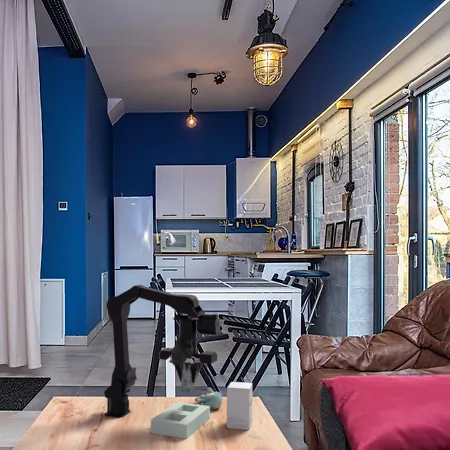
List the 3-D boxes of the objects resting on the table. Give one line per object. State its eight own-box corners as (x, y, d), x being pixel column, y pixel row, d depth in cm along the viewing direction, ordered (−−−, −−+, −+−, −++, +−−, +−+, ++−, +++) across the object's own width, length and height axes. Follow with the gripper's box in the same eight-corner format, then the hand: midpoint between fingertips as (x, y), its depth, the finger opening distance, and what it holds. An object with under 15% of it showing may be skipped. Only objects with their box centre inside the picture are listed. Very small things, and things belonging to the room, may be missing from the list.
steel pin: (179, 391, 156) (179, 363, 156) (184, 387, 159) (184, 360, 160) (190, 392, 154) (190, 364, 155) (195, 389, 158) (195, 361, 158)
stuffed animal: (206, 384, 180) (229, 384, 172) (208, 404, 179) (231, 405, 171) (184, 390, 172) (207, 390, 164) (186, 411, 171) (210, 412, 163)
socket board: (150, 433, 146) (151, 419, 146) (177, 414, 163) (177, 402, 163) (186, 438, 142) (186, 424, 142) (210, 418, 159) (210, 406, 159)
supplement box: (249, 430, 149) (249, 388, 149) (225, 428, 150) (226, 387, 151) (252, 422, 156) (253, 382, 156) (230, 420, 157) (230, 381, 158)
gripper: (150, 336, 154) (150, 385, 153) (204, 340, 147) (204, 392, 146) (167, 330, 164) (166, 377, 163) (218, 334, 157) (217, 382, 157)
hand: (187, 382), depth 157 cm, fingers closed on steel pin, 4 cm apart
